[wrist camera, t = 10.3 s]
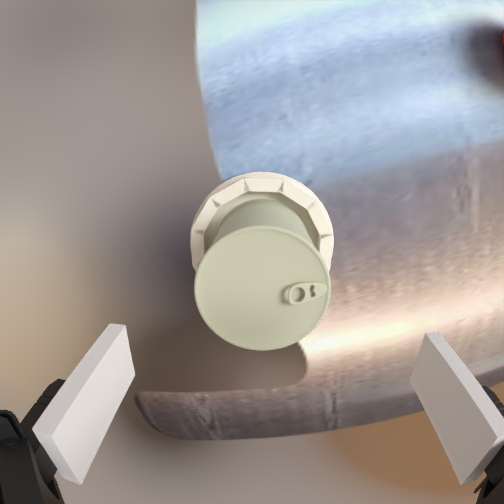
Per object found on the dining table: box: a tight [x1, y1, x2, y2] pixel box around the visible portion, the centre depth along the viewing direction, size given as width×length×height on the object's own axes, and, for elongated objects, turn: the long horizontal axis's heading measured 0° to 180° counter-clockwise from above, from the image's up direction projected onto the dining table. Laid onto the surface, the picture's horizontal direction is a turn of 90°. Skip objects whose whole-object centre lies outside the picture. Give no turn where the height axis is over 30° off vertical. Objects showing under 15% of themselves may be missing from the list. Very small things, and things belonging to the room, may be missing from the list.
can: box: [194, 199, 331, 350], centre depth 26 cm, size 9×9×12 cm
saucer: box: [190, 171, 334, 272], centre depth 32 cm, size 14×14×2 cm
